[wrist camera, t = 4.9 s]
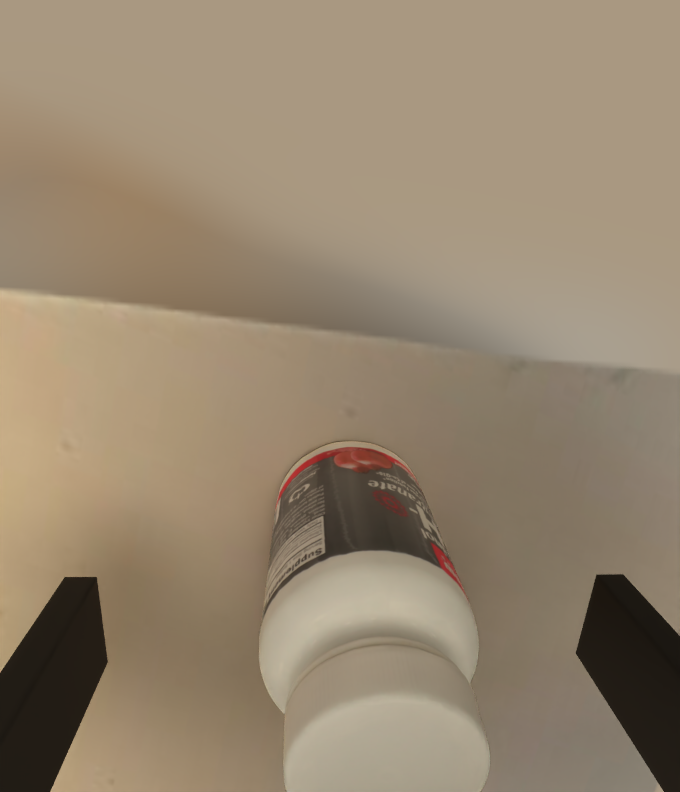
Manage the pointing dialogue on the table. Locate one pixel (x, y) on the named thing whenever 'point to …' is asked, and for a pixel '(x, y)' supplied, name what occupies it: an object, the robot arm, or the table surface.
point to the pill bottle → (368, 633)
